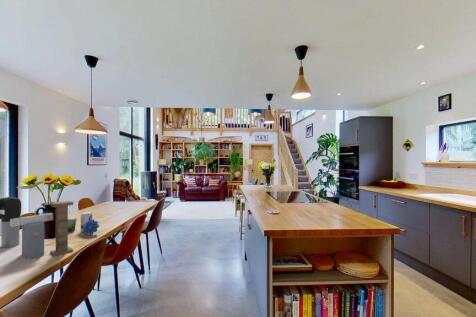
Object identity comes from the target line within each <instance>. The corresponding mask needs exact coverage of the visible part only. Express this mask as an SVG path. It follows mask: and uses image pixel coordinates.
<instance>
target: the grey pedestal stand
mask: <svg viewBox="0 0 476 317" xmlns="http://www.w3.org/2000/svg"><path fill="white" fill-rule="evenodd" d="M49 206H50V207H52V208H55V249H53V250H50V251H49V254H50V255H52V256H53V257H58V256H60V255H61V254H62V255H66V254H69V253H73V252H74V249H73V248H72V247H70V246H69V245H68V242H69V241H68V240H69V234H68V233H69V232H68V219H69V215H68V214H69V213H68V212H69V208H68V207H69V206H74V201H71V200H61V201H55V202H54V201H53V202H49Z"/></svg>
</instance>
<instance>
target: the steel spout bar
mask: <svg viewBox="0 0 476 317" xmlns="http://www.w3.org/2000/svg"><path fill="white" fill-rule="evenodd" d="M49 221H54V213H52V212H50V213H43V214H36V215H29V216H27V215H26V216H22V217H21V216H20V218H14V219H10V226H11V227H14V226H19V227H20V226H22V225H26V224H32V223H38V222H44V223H45V222H49Z"/></svg>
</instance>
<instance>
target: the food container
mask: <svg viewBox="0 0 476 317" xmlns="http://www.w3.org/2000/svg"><path fill="white" fill-rule="evenodd" d="M77 221H78V219H77V218H72V219H71V218H68V233H69V232H75V231H76V226H77V225H76V224H77Z"/></svg>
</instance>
